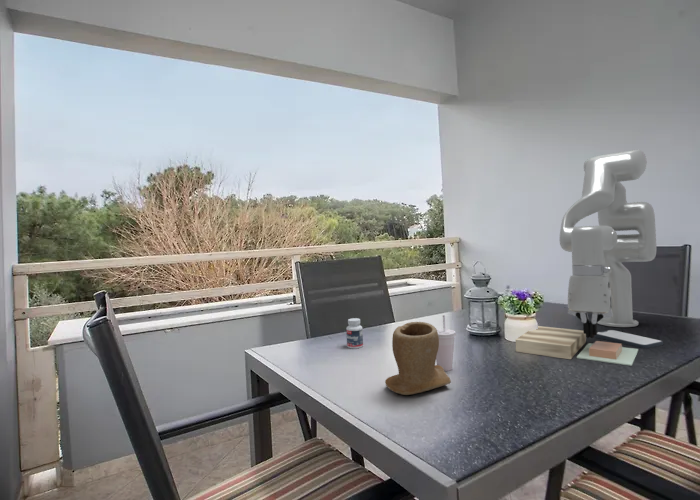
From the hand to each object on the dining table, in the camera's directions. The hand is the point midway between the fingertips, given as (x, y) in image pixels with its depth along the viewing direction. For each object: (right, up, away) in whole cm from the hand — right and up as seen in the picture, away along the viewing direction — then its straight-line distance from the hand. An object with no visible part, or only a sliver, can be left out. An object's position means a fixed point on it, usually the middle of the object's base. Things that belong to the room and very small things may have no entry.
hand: (590, 336), depth 108 cm
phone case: (+17, -4, +9) cm, 20 cm away
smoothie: (-42, -7, -8) cm, 44 cm away
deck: (-7, -4, +7) cm, 11 cm away
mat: (+3, -4, -3) cm, 6 cm away
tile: (+2, -2, -3) cm, 4 cm away
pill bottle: (-65, -7, +18) cm, 68 cm away
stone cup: (-51, -8, -20) cm, 55 cm away
